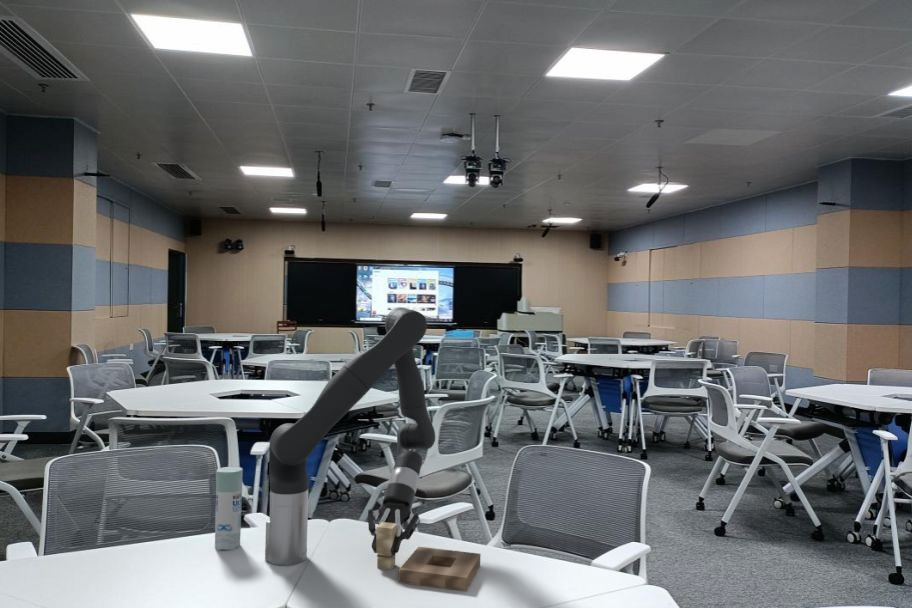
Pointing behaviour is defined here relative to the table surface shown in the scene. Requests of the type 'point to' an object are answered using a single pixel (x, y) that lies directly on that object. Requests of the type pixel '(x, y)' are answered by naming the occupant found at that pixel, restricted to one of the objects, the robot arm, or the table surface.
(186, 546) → the table surface
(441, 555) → the walnut board
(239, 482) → the spray paint can
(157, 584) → the table surface
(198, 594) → the table surface
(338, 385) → the robot arm
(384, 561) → the oak peg
